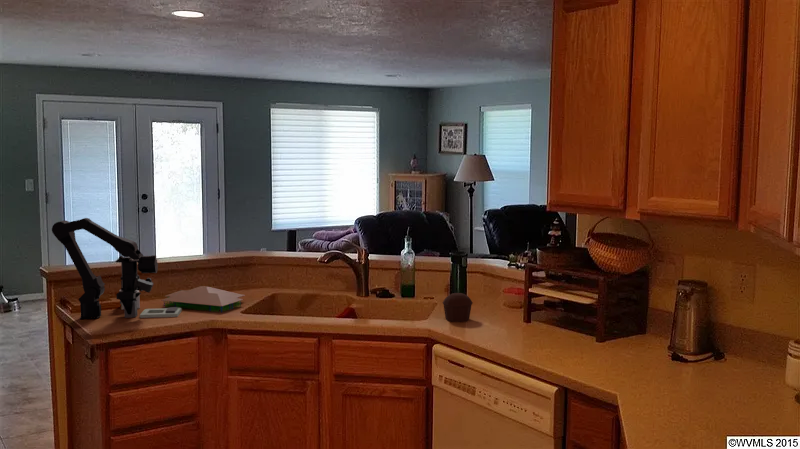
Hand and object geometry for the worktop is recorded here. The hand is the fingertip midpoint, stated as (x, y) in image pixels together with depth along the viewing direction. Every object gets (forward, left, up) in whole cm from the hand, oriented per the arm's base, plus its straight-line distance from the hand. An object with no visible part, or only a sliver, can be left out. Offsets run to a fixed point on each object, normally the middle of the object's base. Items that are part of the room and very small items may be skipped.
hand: (130, 313), depth 283 cm
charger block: (0, 0, -1) cm, 1 cm away
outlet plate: (+11, +2, -1) cm, 11 cm away
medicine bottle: (-4, +17, -2) cm, 18 cm away
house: (+26, +19, -2) cm, 32 cm away
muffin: (+125, -23, -2) cm, 127 cm away
